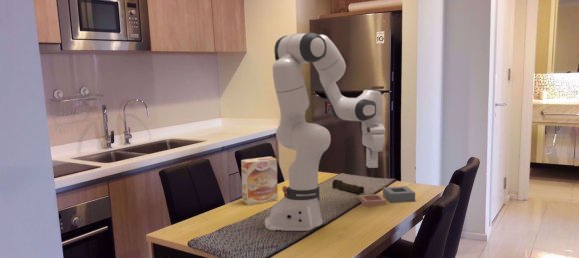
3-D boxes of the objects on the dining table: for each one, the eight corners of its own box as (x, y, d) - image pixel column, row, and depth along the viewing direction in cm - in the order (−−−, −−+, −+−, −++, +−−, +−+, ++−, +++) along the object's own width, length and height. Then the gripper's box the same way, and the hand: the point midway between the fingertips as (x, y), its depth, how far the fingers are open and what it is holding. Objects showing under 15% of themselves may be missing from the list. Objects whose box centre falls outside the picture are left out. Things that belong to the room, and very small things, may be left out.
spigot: (368, 167, 189) (368, 149, 188) (366, 166, 193) (366, 148, 192) (377, 167, 189) (377, 149, 188) (375, 165, 193) (375, 147, 192)
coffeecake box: (248, 205, 193) (246, 162, 191) (242, 201, 199) (240, 159, 197) (278, 200, 200) (277, 158, 198) (271, 196, 206) (270, 155, 204)
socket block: (390, 202, 192) (390, 193, 191) (382, 195, 202) (382, 187, 202) (415, 201, 193) (415, 192, 192) (406, 194, 203) (406, 186, 203)
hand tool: (364, 194, 207) (364, 184, 206) (359, 195, 205) (359, 186, 204) (336, 186, 222) (336, 177, 221) (330, 188, 219) (330, 179, 219)
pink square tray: (364, 205, 188) (364, 201, 188) (359, 199, 198) (359, 195, 197) (386, 204, 189) (386, 200, 189) (379, 198, 198) (379, 194, 198)
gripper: (358, 124, 199) (358, 154, 201) (371, 130, 179) (371, 163, 180) (372, 124, 200) (372, 154, 201) (386, 129, 179) (386, 162, 181)
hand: (371, 158), depth 191 cm, fingers closed on spigot, 4 cm apart
